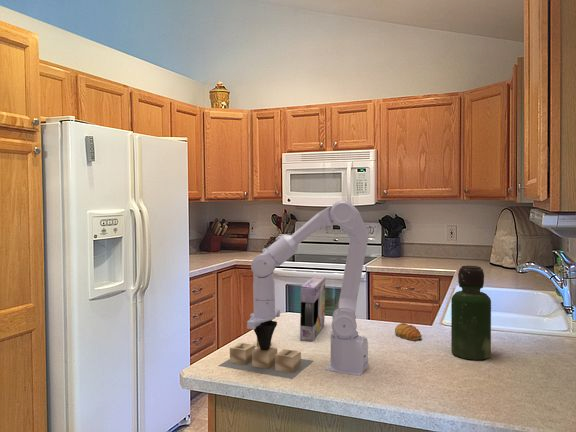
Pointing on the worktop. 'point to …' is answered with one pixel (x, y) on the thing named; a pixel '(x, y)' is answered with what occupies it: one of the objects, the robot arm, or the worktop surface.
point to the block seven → (241, 353)
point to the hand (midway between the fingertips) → (264, 349)
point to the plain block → (264, 357)
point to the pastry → (407, 332)
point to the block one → (288, 360)
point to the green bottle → (471, 316)
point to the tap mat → (269, 371)
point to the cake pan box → (312, 308)
